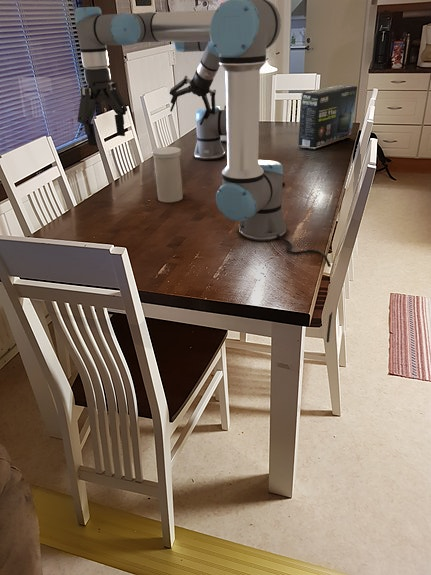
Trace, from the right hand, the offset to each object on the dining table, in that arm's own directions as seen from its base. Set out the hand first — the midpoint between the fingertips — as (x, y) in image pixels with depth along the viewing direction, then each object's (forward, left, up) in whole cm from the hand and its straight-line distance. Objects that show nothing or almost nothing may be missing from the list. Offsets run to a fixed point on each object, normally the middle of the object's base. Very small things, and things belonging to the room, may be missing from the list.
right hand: (107, 140), depth 148 cm
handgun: (-29, -63, -28) cm, 75 cm away
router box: (-31, -132, -28) cm, 138 cm away
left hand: (+8, -58, -4) cm, 59 cm away
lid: (-3, -27, -10) cm, 29 cm away
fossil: (+24, -117, -28) cm, 123 cm away
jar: (-3, -27, -28) cm, 39 cm away
